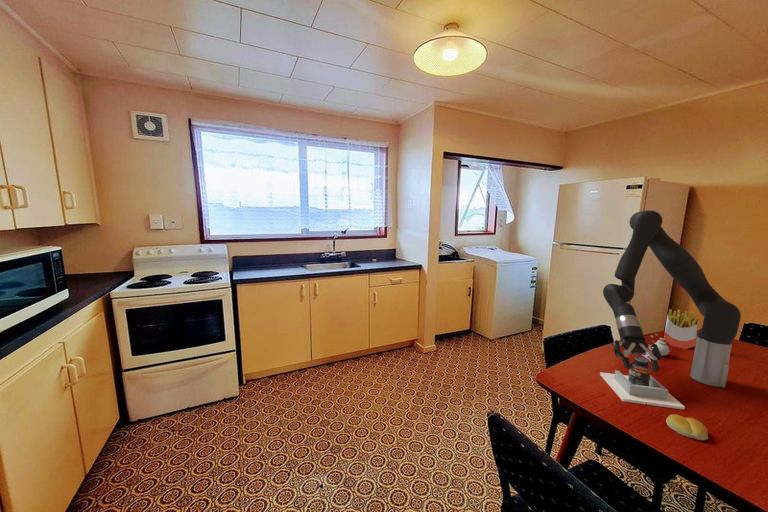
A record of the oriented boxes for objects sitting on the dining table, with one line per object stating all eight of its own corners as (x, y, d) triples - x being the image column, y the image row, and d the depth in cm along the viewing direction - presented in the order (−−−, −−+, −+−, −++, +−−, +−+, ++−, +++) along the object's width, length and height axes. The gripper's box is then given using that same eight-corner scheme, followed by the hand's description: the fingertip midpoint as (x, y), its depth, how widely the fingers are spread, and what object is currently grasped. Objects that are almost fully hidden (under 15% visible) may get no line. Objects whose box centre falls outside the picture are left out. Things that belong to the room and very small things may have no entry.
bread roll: (662, 417, 97) (664, 406, 97) (701, 428, 93) (703, 416, 92) (669, 433, 90) (671, 421, 90) (711, 445, 86) (714, 433, 85)
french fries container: (694, 351, 143) (700, 315, 141) (663, 344, 151) (668, 310, 148) (693, 347, 147) (699, 312, 144) (663, 341, 154) (668, 308, 151)
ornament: (667, 359, 135) (670, 338, 134) (646, 353, 141) (648, 333, 139) (669, 355, 139) (672, 335, 138) (648, 349, 145) (651, 330, 143)
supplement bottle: (643, 384, 114) (647, 357, 112) (651, 393, 108) (655, 364, 106) (624, 381, 116) (628, 354, 114) (631, 390, 110) (635, 361, 108)
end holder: (599, 374, 122) (601, 364, 122) (651, 380, 118) (653, 370, 117) (622, 401, 105) (624, 389, 105) (684, 409, 101) (686, 397, 100)
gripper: (612, 323, 118) (624, 364, 108) (655, 326, 114) (671, 369, 105) (605, 330, 124) (615, 370, 114) (645, 334, 120) (659, 375, 111)
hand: (642, 370), depth 110 cm, fingers open, 8 cm apart
